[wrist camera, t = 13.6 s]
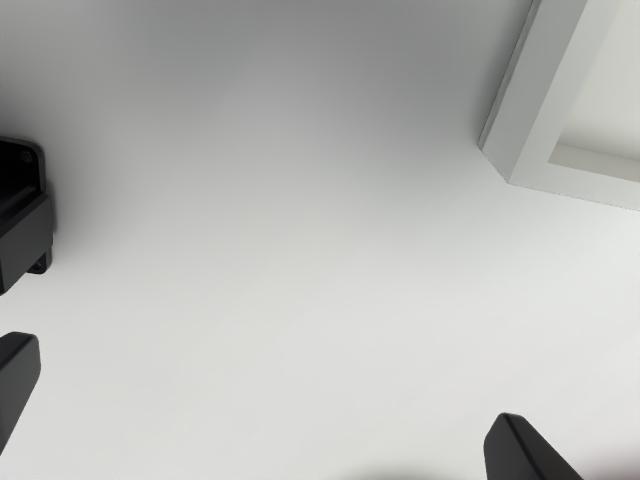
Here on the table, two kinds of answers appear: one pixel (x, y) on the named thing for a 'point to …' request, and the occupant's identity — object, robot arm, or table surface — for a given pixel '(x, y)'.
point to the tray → (572, 103)
